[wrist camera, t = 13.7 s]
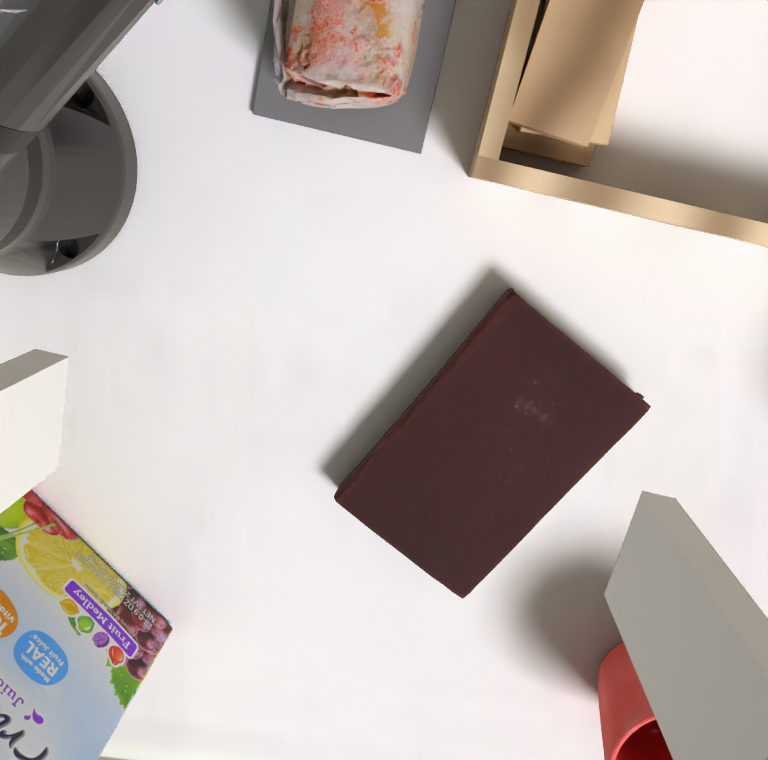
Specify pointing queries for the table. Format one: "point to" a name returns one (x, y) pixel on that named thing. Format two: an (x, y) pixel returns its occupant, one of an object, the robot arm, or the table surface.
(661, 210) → the tray
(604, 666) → the flower pot
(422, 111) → the mat
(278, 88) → the food item
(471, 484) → the book
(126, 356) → the table surface
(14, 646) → the snack box
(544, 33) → the offcut stack
